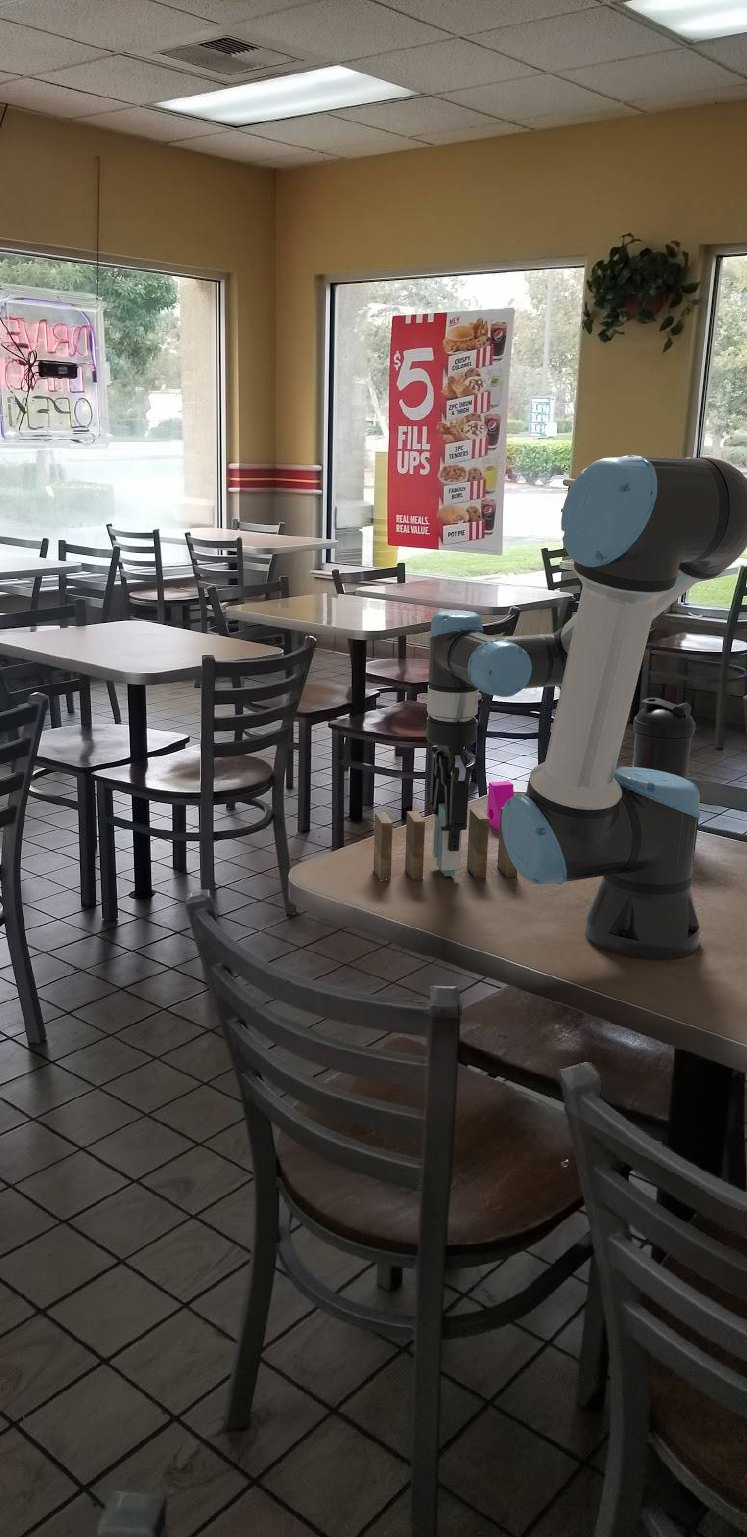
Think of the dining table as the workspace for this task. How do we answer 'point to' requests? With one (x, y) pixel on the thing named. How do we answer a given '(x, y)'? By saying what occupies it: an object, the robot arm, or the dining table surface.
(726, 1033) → the dining table surface
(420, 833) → the domino
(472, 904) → the dining table surface
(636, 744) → the water bottle
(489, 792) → the toy block
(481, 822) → the domino
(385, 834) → the domino
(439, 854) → the domino
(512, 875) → the domino
